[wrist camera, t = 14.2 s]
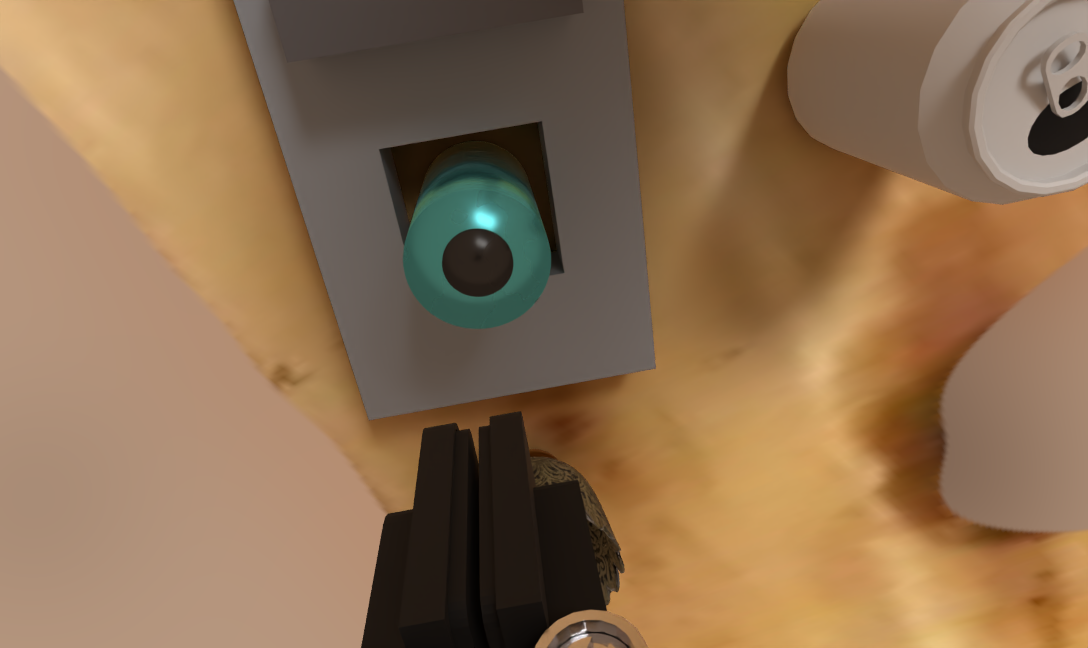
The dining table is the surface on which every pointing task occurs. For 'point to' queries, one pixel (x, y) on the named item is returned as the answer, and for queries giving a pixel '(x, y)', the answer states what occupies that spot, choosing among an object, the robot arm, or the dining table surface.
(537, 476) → the cup
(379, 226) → the plate
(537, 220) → the teal translucent cylinder
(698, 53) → the dining table surface
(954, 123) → the can
